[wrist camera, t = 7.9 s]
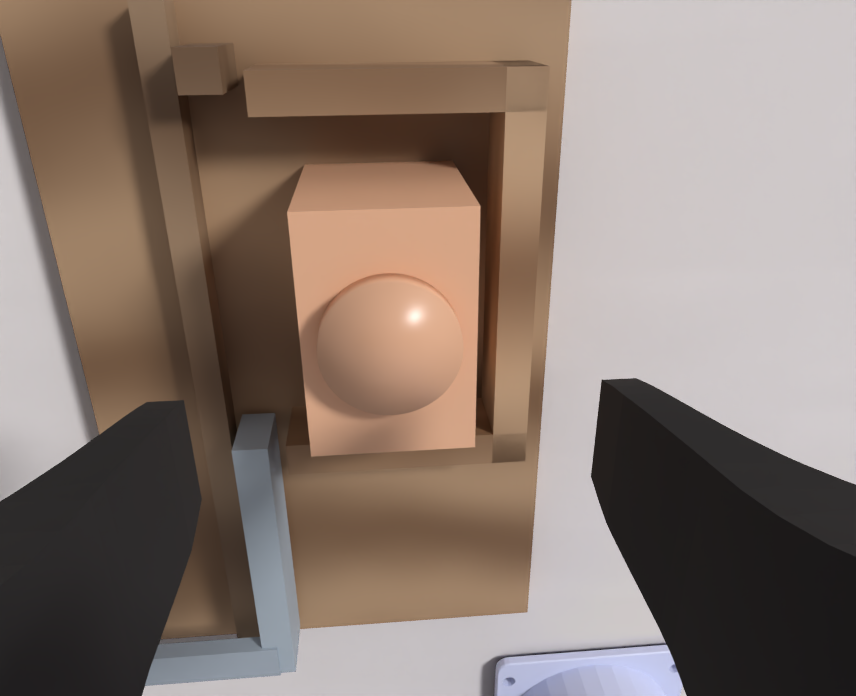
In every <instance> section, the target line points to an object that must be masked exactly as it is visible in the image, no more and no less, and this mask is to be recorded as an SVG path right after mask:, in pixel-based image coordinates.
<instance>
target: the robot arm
mask: <svg viewBox="0 0 856 696" xmlns="http://www.w3.org/2000/svg"><path fill="white" fill-rule="evenodd" d="M591 478H592V481H593V484H594V487H595V490H596V493H597V497H598V500H599V503H600V506H601V509H602V511H603V514H604V517H605V520H606V523H607V525H608V527H609V529H610V531H611V534H612V536H613V538H614V540H615V542H616V544H617V546H618V548H619V550H620V552H621V554H622V556H623V558H624V560H625V562H626V564H627V566H628V568H629V570H630V572H631V574H632V576H633V578H634V580H635V581H636V583H637V585H638V587H639V589H640V591H641V593H642V595H643V597H644V599H645V601H646V603H647V605H648V607H649V609H650V611H651V613H652V615H653V617H654V619H655V621H656V623H657V625H658V627H659V629H660V631H661V633H662V635H663V637H664V640H665V642H666V644H667V645H657V646H644V647H631V648H618V649H606V650H593V651H580V652H567V653H554V654H542V655H529V656H516V657H506V658H503V659H501V660H500V661H499V662H498V663H497V664H496V671H495V692H494V696H680V695H681V690H682V685H683V687H684V690H685V692H686V695H687V696H856V485H855V484H852V483H849V482H847V481H844V480H841V479H839V478H837V477H834V476H832V475H829V474H827V473H824V472H822V471H819V470H817V469H814V468H812V467H809V466H807V465H804V464H802V463H800V462H797V461H795V460H793V459H790V458H788V457H786V456H784V455H782V454H780V453H778V452H775V451H773V450H771V449H769V448H767V447H765V446H763V445H761V444H759V443H757V442H755V441H753V440H751V439H749V438H747V437H745V436H743V435H741V434H739V433H737V432H735V431H733V430H731V429H730V428H728V427H726V426H724V425H722V424H720V423H718V422H717V421H715V420H713V419H711V418H709V417H708V416H706V415H704V414H702V413H700V412H699V411H697V410H695V409H693V408H692V407H690V406H688V405H686V404H684V403H683V402H681V401H679V400H677V399H676V398H674V397H672V396H670V395H668V394H667V393H665V392H663V391H661V390H659V389H657V388H655V387H654V386H652V385H650V384H648V383H645V382H643V381H641V380H639V379H636V378H633V379H612V380H602V383H601V392H600V401H599V410H598V419H597V428H596V437H595V446H594V455H593V464H592V473H591ZM201 501H202V498H201V492H200V487H199V481H198V476H197V470H196V464H195V459H194V453H193V448H192V442H191V437H190V431H189V426H188V420H187V415H186V409H185V404H184V400H177V401H156V402H146V403H144V404H143V405H141V406H139V407H138V408H136V409H135V410H133V411H132V412H130V413H129V414H127V415H126V416H124V417H123V418H122V419H120V420H119V421H117V422H116V423H115V424H113V425H112V426H111V427H109V428H108V429H106V430H105V431H104V432H102V433H101V434H100V435H98V436H97V437H95V438H94V439H93V440H91V441H90V442H89V443H87V444H86V445H84V446H83V447H82V448H80V449H79V450H77V451H76V452H75V453H73V454H72V455H70V456H69V457H68V458H66V459H65V460H63V461H62V462H61V463H59V464H57V465H56V466H54V467H53V468H51V469H50V470H48V471H47V472H45V473H44V474H42V475H41V476H39V477H38V478H36V479H35V480H33V481H32V482H30V483H29V484H27V485H26V486H24V487H23V488H21V489H19V490H18V491H16V492H15V493H13V494H12V495H10V496H9V497H7V498H5V499H4V500H2V501H0V696H142V693H143V690H144V687H145V683H146V680H147V677H148V674H149V670H150V667H151V664H152V662H153V659H154V656H155V653H156V650H157V648H158V645H159V642H160V639H161V636H162V634H163V631H164V628H165V625H166V622H167V620H168V617H169V614H170V611H171V608H172V606H173V603H174V600H175V597H176V594H177V592H178V589H179V586H180V583H181V580H182V577H183V574H184V571H185V569H186V566H187V563H188V560H189V557H190V554H191V551H192V546H193V542H194V537H195V532H196V528H197V522H198V517H199V511H200V506H201ZM508 677H509V678H508Z"/></svg>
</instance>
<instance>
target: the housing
mask: <svg viewBox="0 0 856 696" xmlns="http://www.w3.org/2000/svg"><path fill="white" fill-rule="evenodd" d="M570 13H571V0H0V36H1V40H2V44H3V48H4V52H5V56H6V60H7V64H8V68H9V72H10V76H11V80H12V84H13V88H14V92H15V96H16V100H17V104H18V108H19V112H20V116H21V120H22V124H23V128H24V132H25V136H26V140H27V144H28V148H29V153H30V157H31V161H32V165H33V169H34V173H35V177H36V181H37V185H38V189H39V193H40V197H41V201H42V205H43V209H44V213H45V217H46V221H47V225H48V229H49V233H50V237H51V241H52V245H53V249H54V253H55V257H56V261H57V265H58V269H59V274H60V278H61V282H62V286H63V290H64V294H65V298H66V302H67V306H68V310H69V314H70V318H71V322H72V326H73V330H74V334H75V338H76V342H77V346H78V350H79V354H80V358H81V362H82V366H83V370H84V374H85V378H86V382H87V386H88V390H89V395H90V399H91V403H92V407H93V411H94V415H95V419H96V423H97V427H98V431H99V435H100V434H101V433H102V432H104V431H105V430H106V429H108V428H109V427H111V426H112V425H113V424H115V423H116V422H117V421H119V420H120V419H122V418H123V417H124V416H126V415H127V414H129V413H130V412H132V411H133V410H135V409H136V408H138V407H139V406H141V405H143V404H144V403H146V402H156V401H177V400H184V404H185V409H186V415H187V420H188V426H189V431H190V437H191V442H192V448H193V453H194V459H195V464H196V470H197V476H198V481H199V487H200V492H201V498H202V501H201V506H200V511H199V517H198V522H197V528H196V532H195V537H194V542H193V546H192V551H191V554H190V557H189V560H188V563H187V566H186V569H185V571H184V574H183V577H182V580H181V583H180V586H179V589H178V592H177V594H176V597H175V600H174V603H173V606H172V608H171V611H170V614H169V617H168V620H167V622H166V625H165V628H164V631H163V634H162V636H161V639H170V638H184V637H198V636H211V635H225V634H237V638H249V637H260V633H259V626H258V620H257V613H256V607H255V600H254V594H253V587H252V581H251V574H250V568H249V561H248V555H247V548H246V542H245V535H244V529H243V522H242V516H241V509H240V503H239V496H238V490H237V483H236V477H235V470H234V464H233V457H232V448H233V444H234V441H235V437H236V434H237V431H238V427H239V424H240V420H241V417H242V414H262V413H275V416H276V425H277V433H278V442H279V450H280V459H281V467H282V476H283V484H284V492H285V501H286V509H287V518H288V526H289V535H290V543H291V551H292V560H293V568H294V577H295V585H296V594H297V602H298V611H299V619H300V629H306V628H320V627H333V626H347V625H360V624H374V623H388V622H401V621H415V620H428V619H442V618H455V617H469V616H483V615H496V614H510V613H523V612H527V609H528V595H529V581H530V567H531V553H532V540H533V526H534V512H535V498H536V484H537V470H538V456H539V443H540V429H541V415H542V401H543V387H544V373H545V359H546V346H547V332H548V318H549V304H550V290H551V276H552V262H553V249H554V235H555V221H556V207H557V193H558V179H559V165H560V152H561V138H562V124H563V110H564V96H565V82H566V68H567V55H568V41H569V27H570ZM420 161H453V162H454V164H455V166H456V167H457V169H458V170H459V172H460V174H461V175H462V177H463V179H464V180H465V182H466V183H467V185H468V187H469V188H470V190H471V191H472V193H473V195H474V196H475V198H476V199H477V201H478V203H479V204H480V206H481V209H480V253H479V297H478V341H477V385H476V429H475V447H470V448H453V449H435V450H418V451H400V452H383V453H365V454H348V455H331V456H313V457H311V450H310V440H309V430H308V420H307V409H306V399H305V389H304V379H303V369H302V359H301V348H300V338H299V328H298V318H297V308H296V297H295V287H294V277H293V267H292V257H291V247H290V236H289V226H288V216H287V211H288V208H289V206H290V203H291V200H292V197H293V195H294V192H295V189H296V187H297V184H298V181H299V178H300V176H301V173H302V170H303V168H304V165H308V164H345V163H383V162H420Z"/></svg>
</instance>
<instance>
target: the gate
mask: <svg viewBox="0 0 856 696" xmlns="http://www.w3.org/2000/svg"><path fill="white" fill-rule="evenodd" d="M232 457H233V464H234V470H235V477H236V483H237V490H238V496H239V503H240V509H241V516H242V522H243V529H244V535H245V542H246V548H247V555H248V561H249V568H250V574H251V581H252V587H253V594H254V600H255V607H256V613H257V620H258V626H259V633H260V637H249V638H236V639H222V640H209V641H195V642H182V643H168V644H159V645H158V648H157V650H156V653H155V656H154V659H153V662H152V664H151V667H150V670H149V674H148V677H147V680H146V683H145V686H150V685H163V684H175V683H188V682H201V681H214V680H226V679H239V678H252V677H265V676H277V675H281V673H284V672H296V663H297V653H298V643H299V633H300V619H299V611H298V602H297V594H296V585H295V577H294V568H293V560H292V551H291V543H290V535H289V526H288V518H287V509H286V501H285V492H284V484H283V476H282V467H281V459H280V450H279V442H278V433H277V425H276V416H275V413H262V414H242V417H241V420H240V424H239V427H238V431H237V434H236V437H235V441H234V444H233V448H232Z"/></svg>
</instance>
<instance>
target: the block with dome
mask: <svg viewBox="0 0 856 696" xmlns="http://www.w3.org/2000/svg"><path fill="white" fill-rule="evenodd" d="M480 209H481V206H480V204H479V203H478V201H477V199H476V198H475V196H474V195H473V193H472V191H471V190H470V188H469V187H468V185H467V183H466V182H465V180H464V179H463V177H462V175H461V174H460V172H459V170H458V169H457V167H456V166H455V164H454V162H453V161H420V162H383V163H345V164H308V165H304V168H303V170H302V173H301V176H300V178H299V181H298V184H297V187H296V189H295V192H294V195H293V197H292V200H291V203H290V206H289V208H288V211H287V216H288V226H289V236H290V247H291V257H292V267H293V277H294V287H295V297H296V308H297V318H298V328H299V338H300V348H301V359H302V369H303V379H304V389H305V399H306V409H307V420H308V430H309V440H310V450H311V457H313V456H331V455H348V454H365V453H383V452H400V451H418V450H435V449H453V448H470V447H475V429H476V385H477V341H478V297H479V253H480Z"/></svg>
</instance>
